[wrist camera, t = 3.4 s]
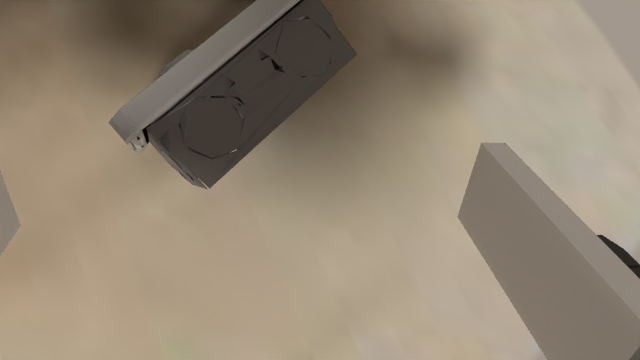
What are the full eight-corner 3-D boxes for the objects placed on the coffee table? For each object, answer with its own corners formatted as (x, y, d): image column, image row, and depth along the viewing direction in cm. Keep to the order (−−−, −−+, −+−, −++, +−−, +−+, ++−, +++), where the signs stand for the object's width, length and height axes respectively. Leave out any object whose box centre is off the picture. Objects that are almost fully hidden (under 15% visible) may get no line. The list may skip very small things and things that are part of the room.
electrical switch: (260, 31, 24) (284, -88, 15) (325, 99, 25) (385, 22, 16) (126, 143, 22) (61, 80, 13) (198, 216, 22) (184, 204, 13)
